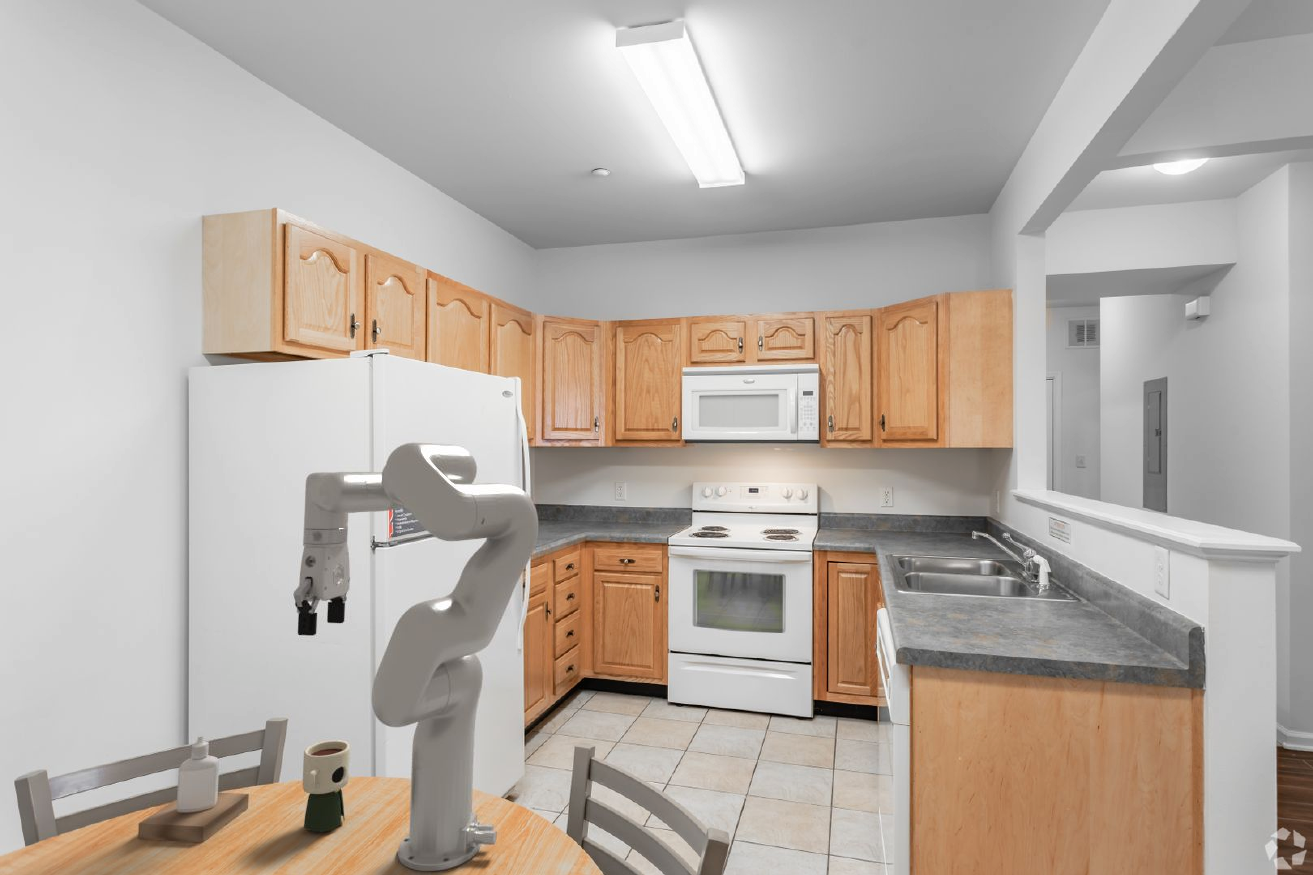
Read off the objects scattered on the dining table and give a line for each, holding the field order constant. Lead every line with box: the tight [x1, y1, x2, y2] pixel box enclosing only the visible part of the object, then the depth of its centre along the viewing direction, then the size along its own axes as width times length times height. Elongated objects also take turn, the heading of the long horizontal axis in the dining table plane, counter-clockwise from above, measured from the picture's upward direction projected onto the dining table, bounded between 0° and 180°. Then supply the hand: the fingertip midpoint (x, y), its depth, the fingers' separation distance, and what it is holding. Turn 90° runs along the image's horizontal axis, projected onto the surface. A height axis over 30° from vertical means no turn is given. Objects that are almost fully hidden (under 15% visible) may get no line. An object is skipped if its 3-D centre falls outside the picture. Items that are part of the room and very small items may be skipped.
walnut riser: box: [137, 791, 250, 843], centre depth 114 cm, size 11×11×2 cm
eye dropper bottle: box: [176, 734, 220, 813], centre depth 115 cm, size 4×6×12 cm
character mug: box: [302, 739, 351, 833], centre depth 114 cm, size 11×7×13 cm, turn 0°
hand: (321, 628), depth 127 cm, fingers open, 9 cm apart
